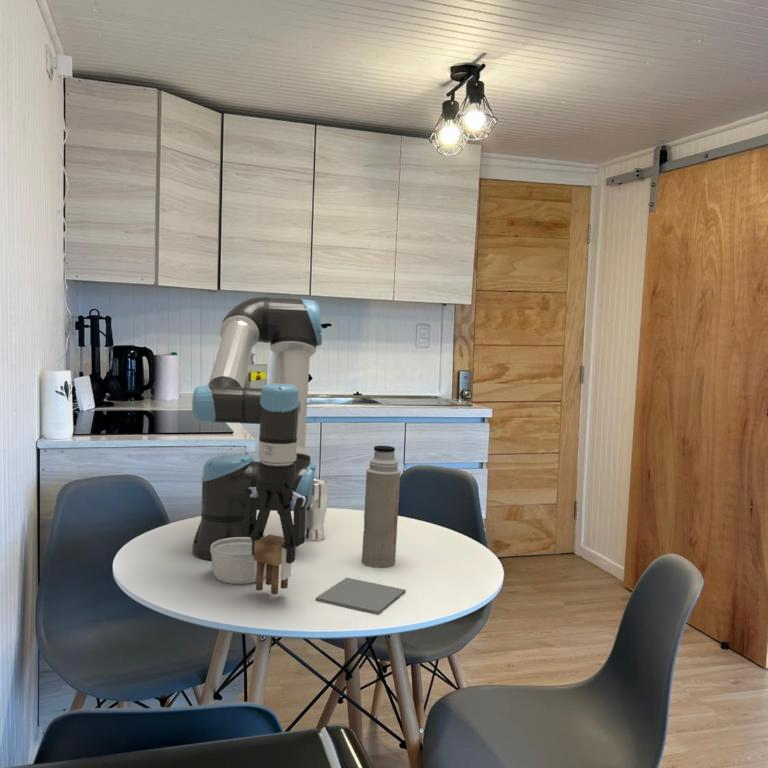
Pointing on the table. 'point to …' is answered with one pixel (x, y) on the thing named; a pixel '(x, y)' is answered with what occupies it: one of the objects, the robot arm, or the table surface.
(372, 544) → the thermos bottle
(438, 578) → the table surface
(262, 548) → the stool
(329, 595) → the mat
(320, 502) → the silver cocktail shaker
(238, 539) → the ramekin
